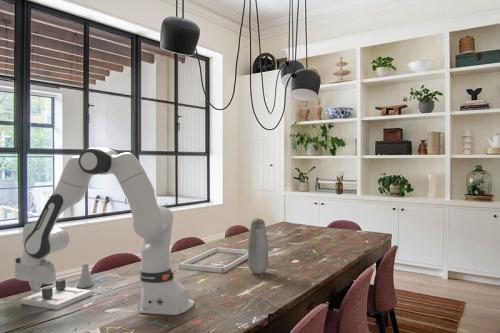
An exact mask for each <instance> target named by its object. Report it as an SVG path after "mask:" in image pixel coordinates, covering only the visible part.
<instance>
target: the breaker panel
mask: <svg viewBox="0 0 500 333" xmlns="http://www.w3.org/2000/svg"><path fill="white" fill-rule="evenodd" d="M52 289H53V297H50V298H48V299H43V298H42V291H40V292H38V293H33V294H31V295H28V296H26V297H22V298H21V304H22V305H27V306H32V307H38V308H44V309H50V310H54V311H55V310H56V311H57V310H60V309H63V308H64V307H67V306H69V305H72V304H75V303H76V302H77V303H78V302H79V301H81V300H84V299H86V298H88V297H89V298H90V297H91V296H93V290H90V289H84V288H79V287H70V286H66V288H65V289H62V290H56V286H55V287H52Z"/></svg>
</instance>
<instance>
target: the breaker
mask: <svg viewBox="0 0 500 333" xmlns="http://www.w3.org/2000/svg"><path fill="white" fill-rule="evenodd" d="M66 285H67V284H66V279H64V278H60V279H58V280H57V279H56V281H55V287H56V290H62V289H65V288H66V287H67V286H66Z"/></svg>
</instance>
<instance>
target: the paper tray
mask: <svg viewBox="0 0 500 333" xmlns="http://www.w3.org/2000/svg"><path fill="white" fill-rule="evenodd" d="M221 252H222V254H223V253H224V254H234V253H235V255H236V254H237V255H242V256H240V257H239V258H237V259H236V260H233V261H232V262H229V263H228V264H227V265H225V266H223V267H220V266H208V265H201V264H200V265H198V264H193V263H195V262H198V261H199V260H202V259H204V258H206V257H209V256H211V255H213V254H214V253H221ZM208 255H209V256H208ZM245 260H248V249H237V248H236V249H235V248H224V247H223V248H222V247H214V248H211V249H210V250H207V251H205V252H202V253H201V254H198V255H196V256H193V257H191V258H189V259H186V260H184V261H182V262H180V263H178V269H180V270H181V269H182V270H187V271H188V270H190V271H198V272H199V271H200V272H208V273H209V272H210V273H219V274H224V273H226V272H228V271H230V270H231V269H233V268H234V267H236V266H238V265H239V264H241V263H243V262H245Z"/></svg>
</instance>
